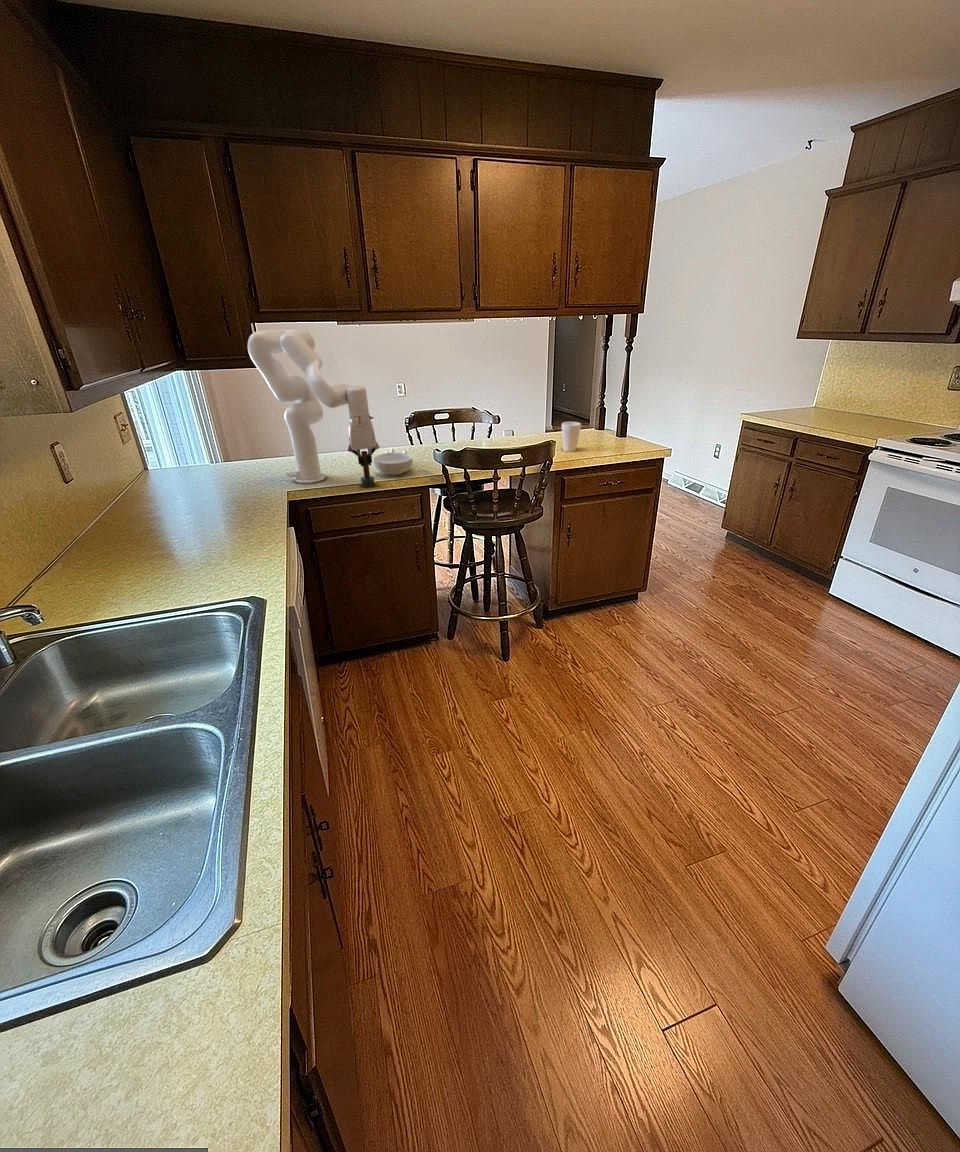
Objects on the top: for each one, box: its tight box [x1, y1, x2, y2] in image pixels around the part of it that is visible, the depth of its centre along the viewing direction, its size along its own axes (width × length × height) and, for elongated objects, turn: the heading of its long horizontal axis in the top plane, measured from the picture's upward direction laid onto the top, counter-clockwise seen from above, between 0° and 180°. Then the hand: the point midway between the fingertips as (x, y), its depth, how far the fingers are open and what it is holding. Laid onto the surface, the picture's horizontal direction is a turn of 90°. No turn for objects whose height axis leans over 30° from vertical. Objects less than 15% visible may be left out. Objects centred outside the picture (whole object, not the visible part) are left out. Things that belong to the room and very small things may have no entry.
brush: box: [360, 450, 375, 489], centre depth 213 cm, size 6×6×14 cm
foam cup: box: [561, 421, 582, 452], centre depth 259 cm, size 10×9×13 cm
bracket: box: [384, 447, 408, 454], centre depth 244 cm, size 13×7×8 cm, turn 20°
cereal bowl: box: [373, 452, 413, 476], centre depth 229 cm, size 17×17×7 cm
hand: (365, 464), depth 212 cm, fingers closed
